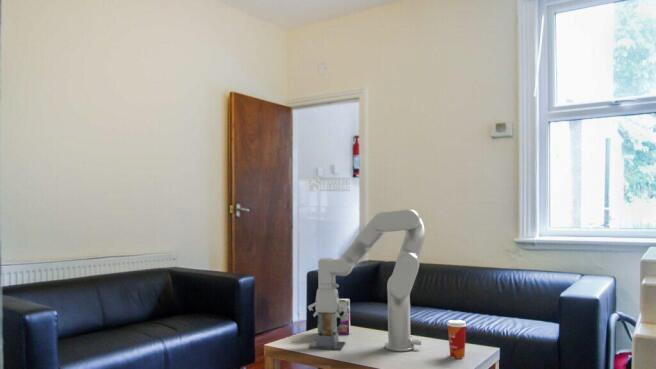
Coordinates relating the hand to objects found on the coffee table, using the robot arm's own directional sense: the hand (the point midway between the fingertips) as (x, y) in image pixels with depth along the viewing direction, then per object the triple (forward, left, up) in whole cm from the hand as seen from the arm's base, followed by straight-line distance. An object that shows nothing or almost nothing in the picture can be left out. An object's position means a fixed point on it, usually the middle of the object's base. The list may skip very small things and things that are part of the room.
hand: (327, 325), depth 218 cm
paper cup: (-55, +4, -9) cm, 56 cm away
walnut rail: (0, 0, -8) cm, 8 cm away
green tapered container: (+3, -13, -9) cm, 16 cm away
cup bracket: (0, 0, -9) cm, 9 cm away
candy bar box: (0, -23, -9) cm, 25 cm away
